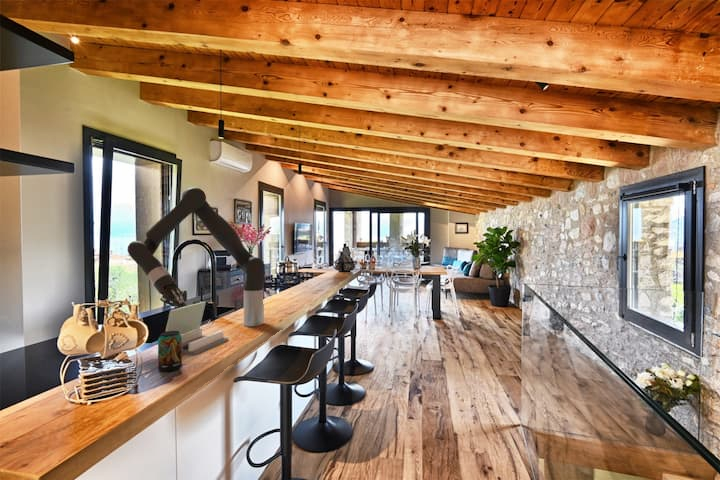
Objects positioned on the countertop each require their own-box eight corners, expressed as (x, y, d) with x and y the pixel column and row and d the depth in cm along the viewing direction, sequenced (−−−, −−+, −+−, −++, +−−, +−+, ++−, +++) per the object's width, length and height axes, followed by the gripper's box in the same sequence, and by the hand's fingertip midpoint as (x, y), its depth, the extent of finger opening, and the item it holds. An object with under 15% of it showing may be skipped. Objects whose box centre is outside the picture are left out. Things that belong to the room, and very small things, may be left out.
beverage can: (166, 374, 121) (166, 337, 121) (153, 370, 125) (153, 333, 125) (186, 367, 127) (186, 332, 127) (173, 363, 131) (173, 329, 131)
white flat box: (196, 337, 164) (196, 327, 164) (228, 340, 159) (228, 330, 159) (159, 351, 144) (159, 340, 144) (194, 355, 140) (194, 344, 140)
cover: (199, 328, 163) (198, 327, 163) (205, 302, 161) (204, 301, 162) (165, 340, 144) (163, 339, 145) (171, 310, 143) (170, 310, 143)
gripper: (154, 275, 149) (179, 308, 146) (179, 272, 162) (203, 302, 158) (143, 288, 151) (168, 321, 147) (169, 284, 163) (192, 314, 160)
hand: (186, 311), depth 153 cm, fingers closed
